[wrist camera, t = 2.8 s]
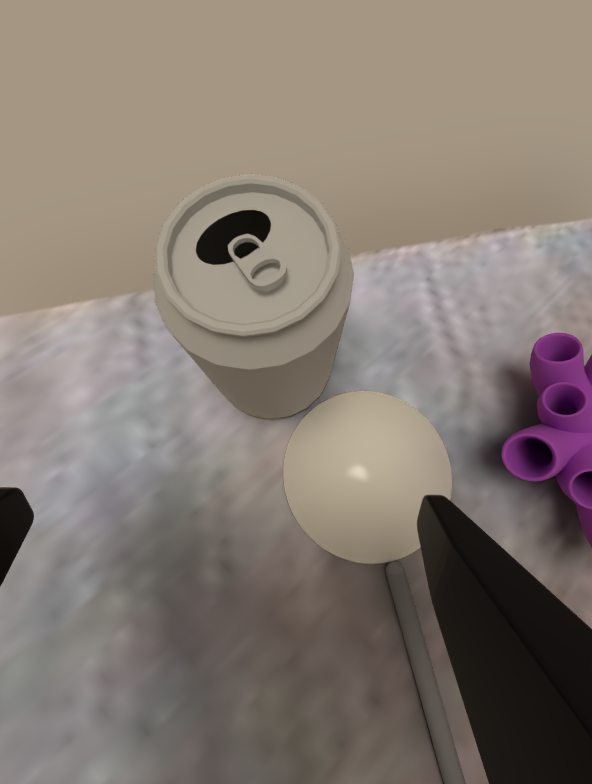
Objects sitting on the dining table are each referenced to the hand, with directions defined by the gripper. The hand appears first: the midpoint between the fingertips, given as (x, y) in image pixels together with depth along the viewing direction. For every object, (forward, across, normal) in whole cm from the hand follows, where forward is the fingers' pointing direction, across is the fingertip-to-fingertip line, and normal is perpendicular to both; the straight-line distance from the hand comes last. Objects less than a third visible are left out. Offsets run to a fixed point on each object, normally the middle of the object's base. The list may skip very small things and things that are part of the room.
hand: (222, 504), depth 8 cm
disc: (+10, -6, +9) cm, 15 cm away
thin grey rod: (+3, -8, +16) cm, 18 cm away
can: (+15, 0, +4) cm, 16 cm away
